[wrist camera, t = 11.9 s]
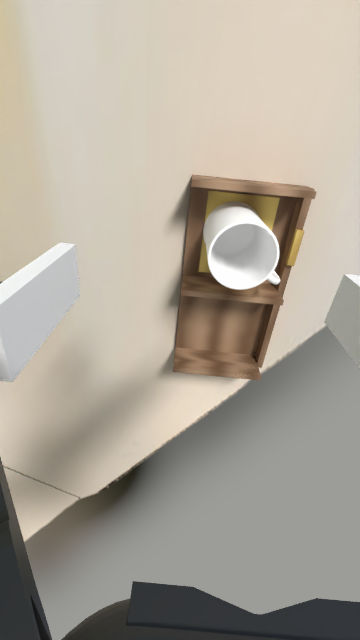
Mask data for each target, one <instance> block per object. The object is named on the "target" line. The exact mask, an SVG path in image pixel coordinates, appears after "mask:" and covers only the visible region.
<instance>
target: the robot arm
mask: <svg viewBox="0 0 360 640" xmlns="http://www.w3.org/2000/svg"><path fill="white" fill-rule="evenodd" d="M79 296H80V290H79V278H78V266H77V254H76V244H67V243H59V244H57V245H56V246H54V247H53V248H51V249H50V250H48V251H47V252H46V253H44V254H43V255H41V256H40V257H38V258H37V259H35V260H34V261H32V262H31V263H30V264H28V265H27V266H25V267H24V268H22V269H21V270H19V271H18V272H17V273H15V274H14V275H12V276H11V277H9V278H8V279H6V280H5V281H3V282H0V381H6V382H13V381H14V380H15V378H16V377H17V376H18V375H19V373H20V372H21V371H22V369H23V368H24V367H25V366H26V364H27V363H28V362H29V360H30V359H31V358H32V357H33V355H34V354H35V353H36V352H37V350H38V349H39V348H40V346H41V345H42V344H43V343H44V341H45V340H46V339H47V337H48V336H49V335H50V334H51V332H52V331H53V330H54V328H55V327H56V326H57V325H58V323H59V322H60V321H61V320H62V318H63V317H64V316H65V314H66V313H67V312H68V311H69V309H70V308H71V307H72V305H73V304H74V303H75V302H76V300H77V299H78V298H79ZM325 324H326V325H327V326H328V327H329V329H330V330H331V331H332V333H333V334H334V335H335V337H336V338H337V339H338V340H339V342H340V343H341V344H342V346H343V347H344V348H345V350H346V351H347V352H348V354H349V355H350V356H351V358H352V359H353V360H354V362H355V363H356V364H357V366H358V367H359V368H360V276H358V275H349V274H344V276H343V278H342V280H341V283H340V285H339V288H338V290H337V293H336V295H335V297H334V300H333V302H332V305H331V307H330V310H329V312H328V314H327V317H326V319H325ZM0 640H52V638H51V634H50V630H49V627H48V623H47V620H46V617H45V613H44V610H43V607H42V604H41V601H40V597H39V594H38V591H37V587H36V584H35V580H34V577H33V573H32V570H31V566H30V563H29V559H28V555H27V552H26V548H25V544H24V541H23V537H22V534H21V530H20V526H19V523H18V519H17V515H16V512H15V508H14V505H13V501H12V497H11V494H10V490H9V487H8V483H7V479H6V476H5V472H4V468H3V465H2V461H1V458H0ZM62 640H360V602H350V601H339V600H328V599H318V598H316V599H313V600H310V601H306V602H303V603H299V604H296V605H293V606H289V607H286V608H283V609H279V610H276V611H273V612H269V613H266V614H262V615H258V614H253V613H251V612H248V611H246V610H243V609H241V608H239V607H237V606H234V605H232V604H230V603H228V602H226V601H223V600H221V599H219V598H216V597H214V596H212V595H210V594H208V593H205V592H203V591H201V590H199V589H196V588H194V587H188V586H187V587H186V586H177V585H166V584H156V583H145V582H134V581H133V585H132V591H131V598H130V599H127V600H123V601H120V602H116V603H114V604H112V605H109V606H107V607H105V608H103V609H101V610H99V611H97V612H96V613H94V614H93V615H91V616H89V617H88V618H86V619H85V620H84V621H82V622H81V623H80V624H79V625H77V626H76V627H75V628H74V629H72V630H71V631H70V632H69V633H68V634H67V635H66V636H65V637H64V638H63V639H62Z"/></svg>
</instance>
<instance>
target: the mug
mask: <svg viewBox="0 0 360 640" xmlns="http://www.w3.org/2000/svg"><path fill="white" fill-rule="evenodd" d="M203 237H204V241H205V244H206V249H207V259H208V266H209V269H210V271H211V273H212V275H213V277H214V278H215V279H216V280H217V281H218V282H219V283H220V284H222V285H224V286H226V287H228V288H231V289H237V290H243V289H249V288H253V287H255V286H258V285H259V284H261V283H263V282H264V281H265V280H266V279H267V280H268V281H269V282H271V283H273V284H275V285H277V284H278V283H279V282H280V278H279V276H278V275H277V274H276V272H275V271H274V270H275V268H276V266H277V263H278V260H279V245H278V241H277V239H276V237H275V235H274V234H273V232H272V231H271V230H270V229H269V228H268V227H267V226H266V225H265V223H264V222H263V221H262V220H261V219H260V218H259V215H258V214H257V212H256V211H255V210H254V209H253V208H252V207H251V206H249V205H248V204H246V203H243V202H238V201H231V202H226V203H224V204H221V205H219V206H218V207H216V208H215V209H214V210H213V211H212V212H211V213H210V214H209V216H208V217H207V219H206V222H205V225H204V229H203Z"/></svg>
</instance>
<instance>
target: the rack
mask: <svg viewBox="0 0 360 640" xmlns="http://www.w3.org/2000/svg"><path fill="white" fill-rule="evenodd" d="M315 195H316V191H314V189H313V188H310V187H307V186H299V185H289V184H279V183H269V182H259V181H249V180H239V179H229V178H219V177H209V176H199V175H192V181H191V194H190V204H189V214H188V225H187V235H186V245H185V256H184V266H183V276H182V285H181V297H180V307H179V317H178V328H177V338H176V348H175V358H174V367H173V372H182V373H192V374H202V375H212V376H222V377H232V378H242V379H252V380H260V378H261V375H260V372H259V368H258V367H260V368H262V365H263V361H264V358H265V355H266V351H267V348H268V344H269V341H270V338H271V334H272V331H273V328H274V324H275V321H276V317H277V314H278V311H279V307H280V305H283V301H284V300H283V298H282V297H283V294H284V290H285V287H286V284H287V280H288V277H289V274H290V270H291V267H292V266H294V264H295V261H296V257H297V254H298V251H299V247H300V244H301V241H302V237H303V234H304V231H303V226H304V223H305V220H306V216H307V213H308V210H309V206H310V203H311V199H314V198H315ZM231 201H238V202H243V203H246V204H248V205H249V206H251V207H252V208H253V209H254V210H255V211H256V212H257V214H258V215H259V218H260V219H261V220H262V221H263V222H264V223H265V225H266V226H267V227H268V228H269V229H270V230H271V231H272V232H273V234H274V235H275V237H276V239H277V241H278V245H279V260H278V263H277V266H276V268H275V270H274V271H275V272H276V274H277V275H278V276H279V278H280V282H279V283H278V284H277V285H275V284H273V283H271V282H269V281H268V280H267V279H266V280H265V281H264V282H263V283H261V284H259V285H258V286H255V287H253V288H249V289H243V290H237V289H231V288H228V287H226V286H224V285H222V284H220V283H219V282H218V281H217V280H216V279H215V278H214V277H213V275H212V273H211V271H210V269H209V266H208V259H207V249H206V244H205V241H204V237H203V229H204V225H205V222H206V219H207V217H208V216H209V214H210V213H211V212H212V211H213V210H214V209H215V208H216V207H218V206H219V205H221V204H224V203H226V202H231Z"/></svg>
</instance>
